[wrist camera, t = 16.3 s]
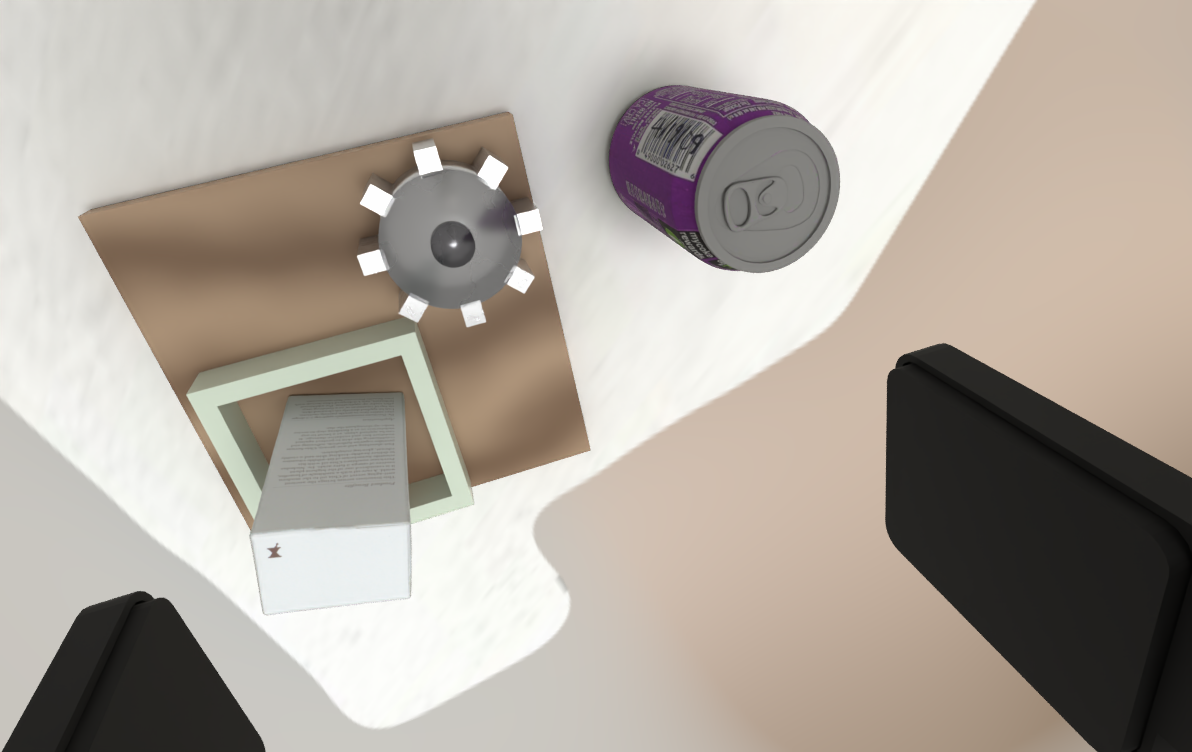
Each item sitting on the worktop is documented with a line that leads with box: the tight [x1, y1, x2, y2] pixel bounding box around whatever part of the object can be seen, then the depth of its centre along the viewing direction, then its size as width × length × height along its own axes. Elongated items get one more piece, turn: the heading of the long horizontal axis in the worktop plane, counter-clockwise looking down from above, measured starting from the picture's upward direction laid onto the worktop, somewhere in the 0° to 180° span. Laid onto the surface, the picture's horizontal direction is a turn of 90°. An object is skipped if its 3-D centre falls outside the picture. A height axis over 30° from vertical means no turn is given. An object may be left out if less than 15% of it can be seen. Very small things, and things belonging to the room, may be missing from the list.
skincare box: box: [250, 392, 411, 615], centre depth 33 cm, size 6×4×12 cm
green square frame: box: [186, 317, 474, 524], centre depth 37 cm, size 11×11×2 cm
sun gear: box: [357, 138, 543, 327], centre depth 34 cm, size 9×9×4 cm
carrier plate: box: [78, 112, 590, 530], centre depth 38 cm, size 20×20×2 cm
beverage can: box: [609, 85, 840, 273], centre depth 33 cm, size 7×7×12 cm
